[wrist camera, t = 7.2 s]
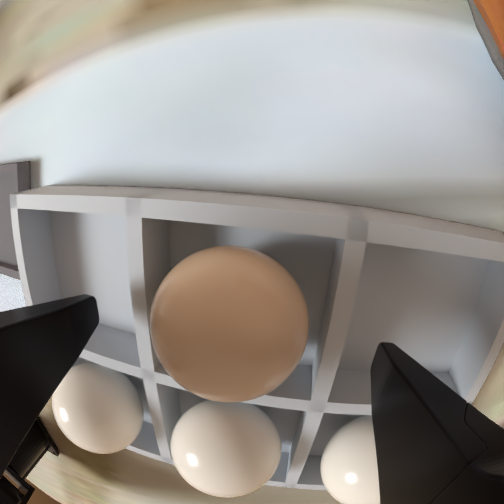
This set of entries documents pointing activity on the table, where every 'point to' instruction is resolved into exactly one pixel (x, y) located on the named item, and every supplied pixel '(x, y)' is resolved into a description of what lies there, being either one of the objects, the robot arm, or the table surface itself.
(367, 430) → the white egg
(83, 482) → the table surface
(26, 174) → the egg dish
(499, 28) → the pie
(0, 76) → the table surface
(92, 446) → the white egg
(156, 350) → the brown egg
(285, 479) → the egg tray
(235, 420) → the white egg
